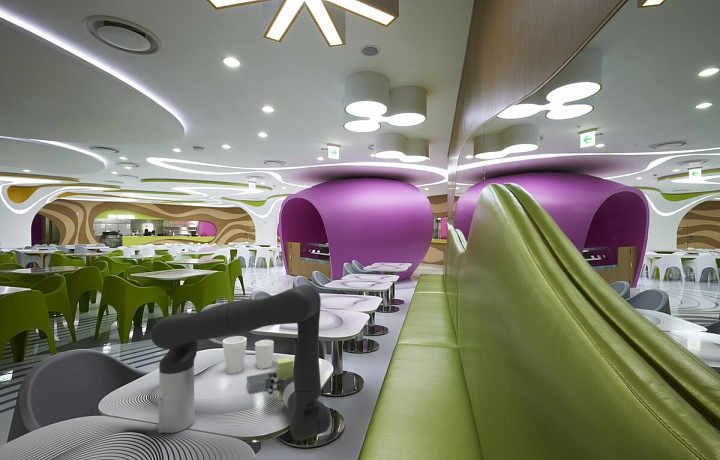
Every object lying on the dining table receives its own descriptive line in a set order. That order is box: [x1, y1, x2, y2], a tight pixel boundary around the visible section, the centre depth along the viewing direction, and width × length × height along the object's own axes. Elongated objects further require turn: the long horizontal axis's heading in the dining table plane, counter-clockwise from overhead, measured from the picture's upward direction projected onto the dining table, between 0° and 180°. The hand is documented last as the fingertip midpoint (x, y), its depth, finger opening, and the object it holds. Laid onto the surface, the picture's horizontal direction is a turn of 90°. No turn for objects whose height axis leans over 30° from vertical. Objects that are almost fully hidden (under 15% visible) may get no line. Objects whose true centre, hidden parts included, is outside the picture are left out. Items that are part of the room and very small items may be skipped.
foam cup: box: [222, 335, 248, 375], centre depth 138 cm, size 10×9×13 cm
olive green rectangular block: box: [275, 356, 294, 402], centre depth 116 cm, size 5×4×13 cm
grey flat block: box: [246, 370, 294, 395], centre depth 127 cm, size 22×8×3 cm, turn 115°
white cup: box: [254, 339, 275, 369], centre depth 144 cm, size 8×8×10 cm
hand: (283, 373), depth 118 cm, fingers open, 8 cm apart
